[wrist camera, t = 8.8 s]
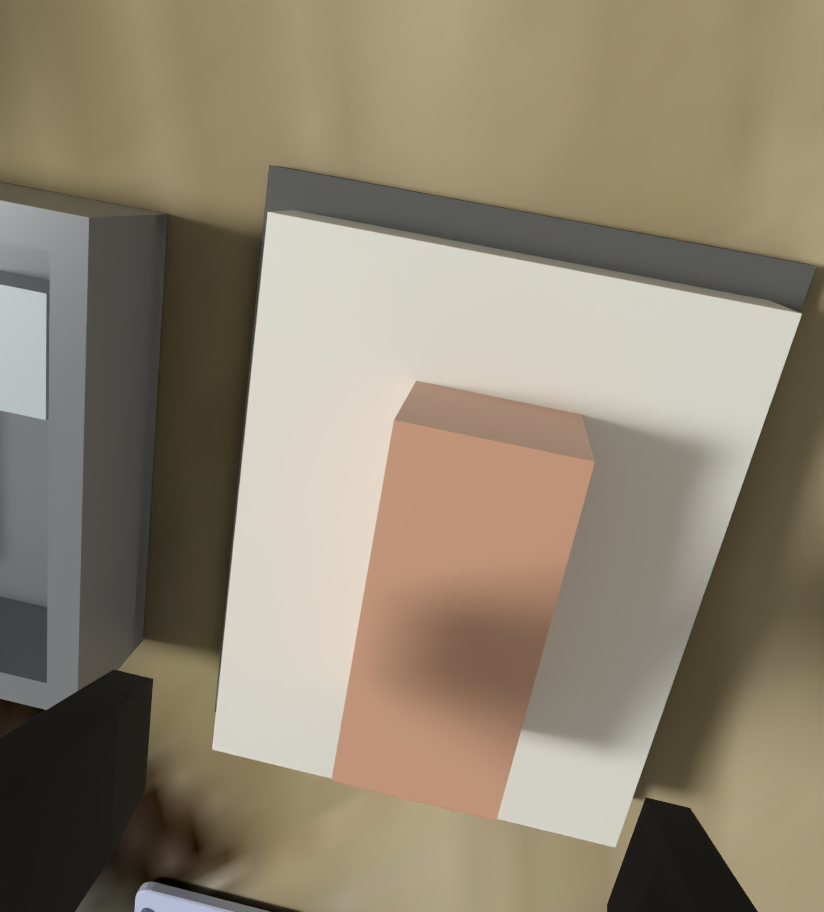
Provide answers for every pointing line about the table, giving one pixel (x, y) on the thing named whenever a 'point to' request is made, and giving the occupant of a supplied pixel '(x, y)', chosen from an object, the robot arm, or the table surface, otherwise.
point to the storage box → (75, 435)
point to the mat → (527, 245)
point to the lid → (479, 515)
